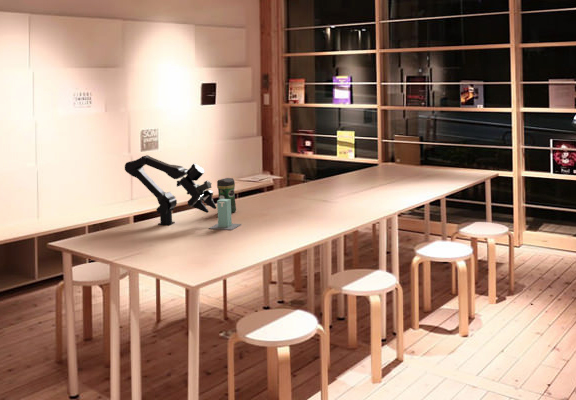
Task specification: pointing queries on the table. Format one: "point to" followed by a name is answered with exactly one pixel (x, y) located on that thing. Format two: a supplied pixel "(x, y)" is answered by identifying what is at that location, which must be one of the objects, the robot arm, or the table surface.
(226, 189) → the coffee jar
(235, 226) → the mat
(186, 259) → the table surface
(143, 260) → the table surface
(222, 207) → the teal tall block
